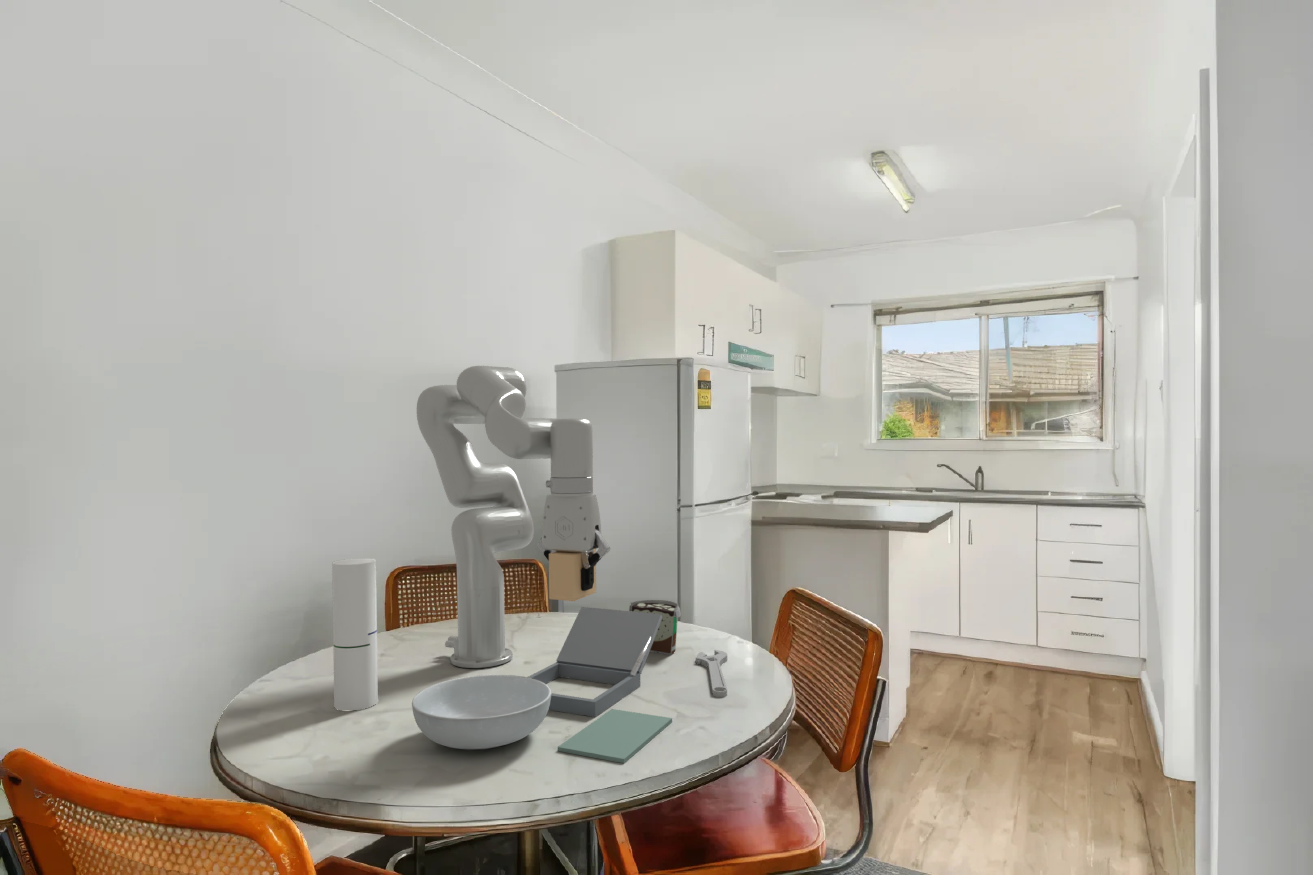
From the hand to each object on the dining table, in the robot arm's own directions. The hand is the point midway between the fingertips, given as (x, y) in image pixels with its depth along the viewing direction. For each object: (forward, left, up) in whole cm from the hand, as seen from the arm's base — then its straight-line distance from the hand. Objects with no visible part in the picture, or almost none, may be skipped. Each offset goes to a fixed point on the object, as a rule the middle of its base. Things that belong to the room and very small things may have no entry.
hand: (573, 587), depth 137 cm
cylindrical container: (-33, -19, -20) cm, 43 cm away
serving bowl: (-3, -23, -20) cm, 30 cm away
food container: (+2, +33, -20) cm, 38 cm away
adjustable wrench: (+19, +20, -20) cm, 34 cm away
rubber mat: (+16, -14, -19) cm, 29 cm away
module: (0, 0, -2) cm, 2 cm away
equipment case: (0, +5, -19) cm, 20 cm away
